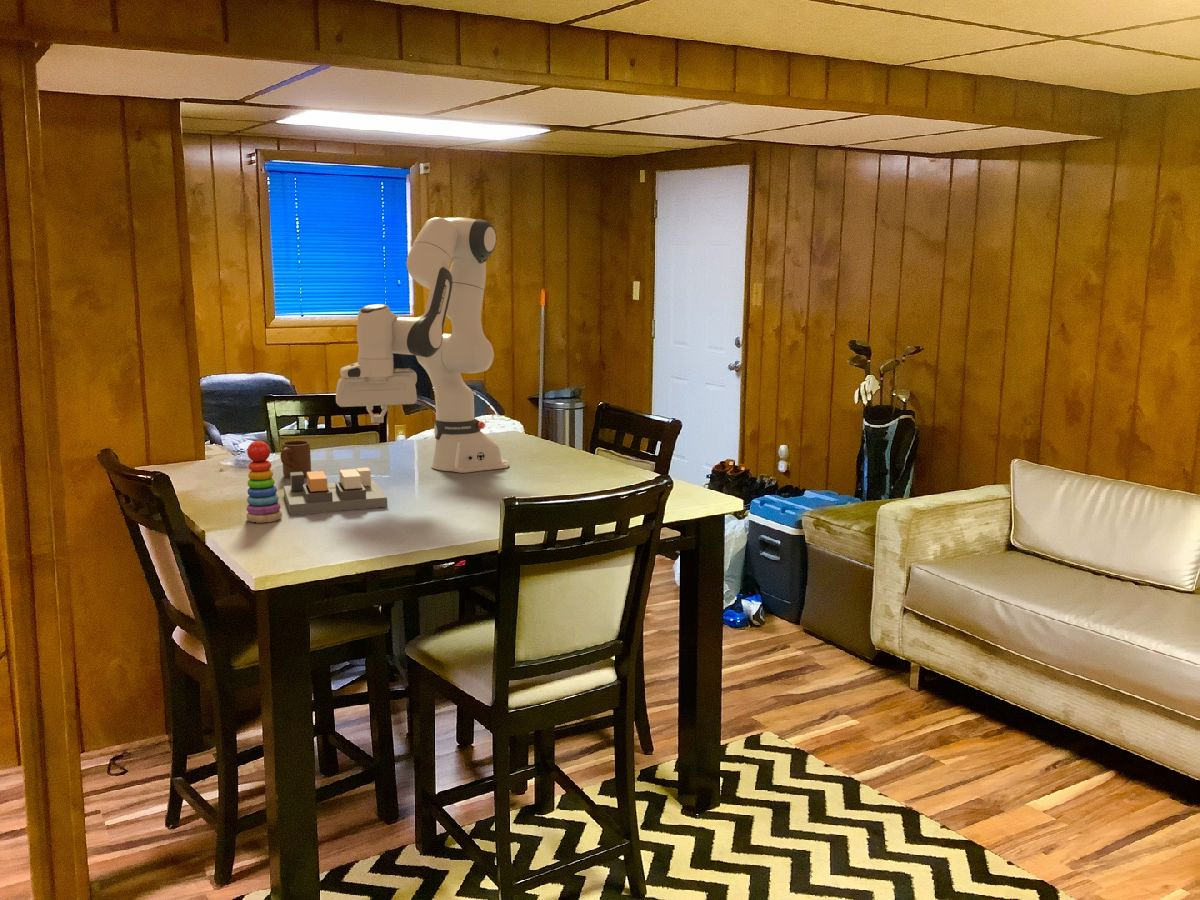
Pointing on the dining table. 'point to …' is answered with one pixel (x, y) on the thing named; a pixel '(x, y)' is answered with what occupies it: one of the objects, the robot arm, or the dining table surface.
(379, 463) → the dining table surface
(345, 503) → the grey base platform
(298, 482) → the slider
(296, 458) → the mug
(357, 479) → the button
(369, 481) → the slider
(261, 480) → the stacking toy
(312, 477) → the button
